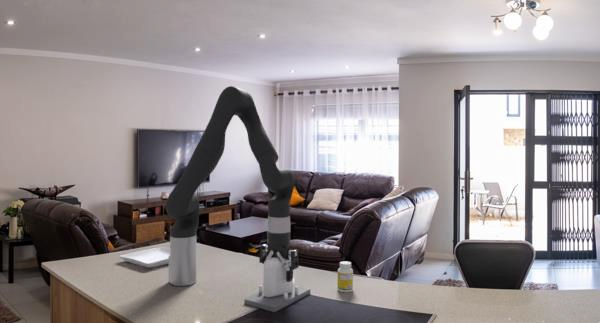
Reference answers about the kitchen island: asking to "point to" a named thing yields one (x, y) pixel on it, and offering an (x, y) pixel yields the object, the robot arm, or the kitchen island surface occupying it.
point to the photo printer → (275, 278)
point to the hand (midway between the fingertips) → (278, 278)
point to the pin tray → (276, 299)
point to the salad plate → (149, 257)
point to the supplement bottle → (345, 277)
